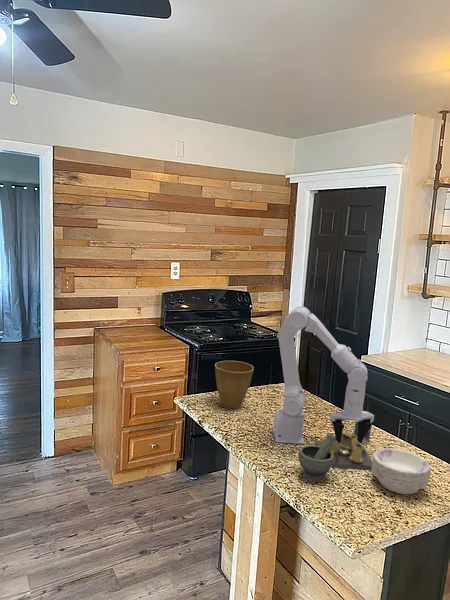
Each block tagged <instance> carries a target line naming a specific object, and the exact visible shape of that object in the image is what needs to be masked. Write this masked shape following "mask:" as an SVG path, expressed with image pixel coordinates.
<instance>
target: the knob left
mask: <svg viewBox="0 0 450 600" xmlns="http://www.w3.org/2000/svg"><path fill="white" fill-rule="evenodd" d="M326 437H327V436H326ZM326 437H325V436H322V437H321V441H322V442H321V445H322V444H323V442H324V440H325V439H326ZM337 445H338V441H337V439H335V440H334V441H333V444H332V446H331V448H330V451H331V452H332V453H333V454H335V452H337Z"/></svg>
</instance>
